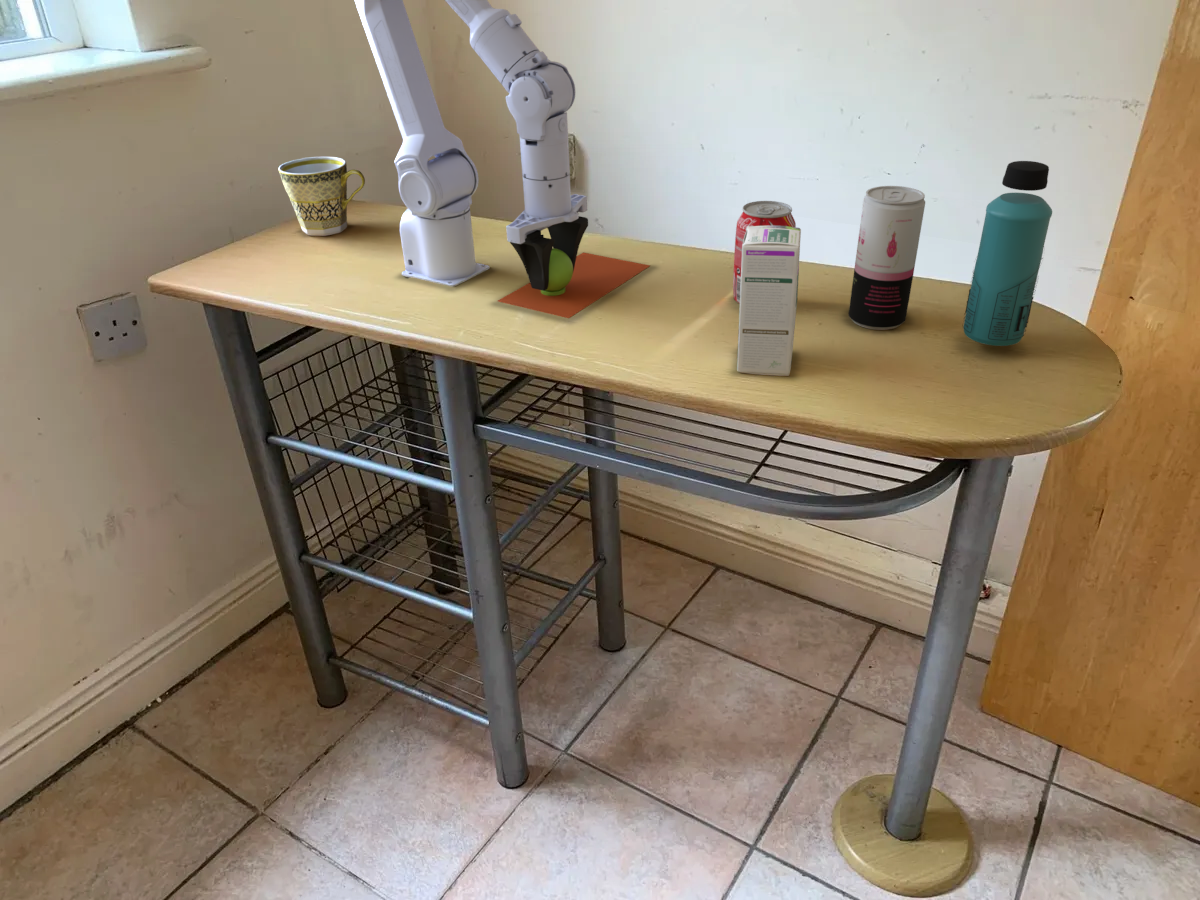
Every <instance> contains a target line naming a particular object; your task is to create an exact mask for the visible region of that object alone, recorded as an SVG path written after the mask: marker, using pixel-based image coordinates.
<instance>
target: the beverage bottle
mask: <svg viewBox="0 0 1200 900" xmlns="http://www.w3.org/2000/svg"><path fill="white" fill-rule="evenodd" d="M1049 172H1050V167H1049V165H1047V164H1045V163H1042V162H1038V161H1032V160H1016V161H1012V162H1011V161H1010V162H1009V163H1008V164H1007V166H1006V169H1005V173H1004V175H1003V178H1002V182H1001V184H1002V185H1003V186H1004V187H1005V188H1009V189H1011V190H1017V191H1028V192H1030V191H1031V192H1033V191H1042V190H1044V189H1046V188H1047V186H1048V183H1049V182H1048V181H1049V180H1048V179H1049ZM1052 216H1053V210H1052V208H1051V206H1050V205H1049V204H1048V202H1047V201H1046V200H1045V199H1044V198H1043V197H1042V196H1040V195H1037V194H1032V193H1026V192H1006V193H1005V192H1004V193H1002V194H1000V195H999V196H996V197H995V198H994V199H993V200H991V201H990V202H989V203H988V204H987V205H986V207H985V216H984V220H983V221H984V222H983V225H982V231H981V237H980V241H979V247H978V251H977V255H976V257H975V260H974V261H975V265H974V268H973V272H972V276H971V277H972V278H971V281H970V288H969V289H968V294H967V300H966V305H965V306H966V307H965V310H964V311H965V312H964V314H965V315H964V317H963V320H962V321H963V322H962V329H963V334H964V335H965V336H966V337H967V338H968V339H969V340H972V341H974V342H977V343H979V344H983V345H987V346H994V347H1006V346H1013V345H1016V344H1018V343H1019V342H1020V341H1021V340H1022V339H1023V337H1024V336H1025V334H1026V332H1027V329H1028V324H1029V320H1030V314H1031V311H1032V305H1033V300H1034V297H1035V296H1034V294H1035V292H1036V289H1037V286H1038V285H1037V284H1038V282H1039V271H1040V268H1041V265H1042V263H1043V262H1042V260H1044V257H1043V254H1044V249H1045V242H1046V239H1047V234H1048V230H1049V225H1050V221H1051V218H1052Z"/></svg>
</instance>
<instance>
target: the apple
mask: <svg viewBox="0 0 1200 900" xmlns="http://www.w3.org/2000/svg"><path fill="white" fill-rule="evenodd" d="M572 275H573V265H572V262H571V260H570V258H569V257H568V255H567V254H566V253H564V252H563V251H561V250H559V249H555V248H553V247H552V251H551V255H550V262H549V284H548V289H547V290H545V291H543V290H541V293H542V294H544V295H547V296H557V295H561V294H563V293H564V292H565V291H566V290H565V286H567V285H568V283H569V282H570V280H571V278H572Z"/></svg>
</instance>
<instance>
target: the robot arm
mask: <svg viewBox="0 0 1200 900" xmlns="http://www.w3.org/2000/svg"><path fill="white" fill-rule="evenodd" d="M353 1H354V3H355V6H356V9H357V12H358V14H359V18H360V20H361V24H362V26H363V29H364V33H365V35H366V37H367V41H368V44H369V46H370V50H371V52H372V54H373V58H374V60H375V64H376V66H377V70H378V72H379V75H380V78H381V80H382V83H383V86H384V89H385V92H386V96H387V98H388V101H389V103H390V106H391V109H392V112H393V115H394V118H395V120H396V123H397V126H398V130H399V132H400V135H401V138H402V142H401V143H402V144H401V146H400V148H399V150H398V152H397V154H396V157H395V159H394V165H395V168H396V172H397V178H398V192H399V196H400V199H401V200H402V202H403V204H404V205H405V207H406V210H405V211H404V212H403V214H402V215H401V219H400V222H399V236H400V242H401V248H402V255H403V262H404V269H405V270H403V271H402V272H401V276H403V277H405V278H414V279H418V280H422V281H426V282H430V283H434V284H439V285H443V286H447V287H452V288H454V287H457V286H459V285H460V284H463V283H464V282H467V281H468V280H470V279H473V278H475V277H476V276H478V275H480V274H482V273H484V272H486V271H487V270H490V268H491V267H490V265H487V264H483V263H478V262H477V261H476V252H475V243H474V234H473V225H472V223H473V222H472V215H471V205H473V199H472V196H473V195H474V194H475V193H476V192H477V189H478V187H479V183H480V180H479V173H478V172H479V171H478V169H477V166H476V165H475V163H474V161H473V160H472V158H471V157H470V156H469V155H468V154H467V152H466V149H465V146H464V144H463V142H462V141H463V140H462V139H461V138H459V136H457V135H456V134H454V133H452V132H451V131H449V130H448V129H447V128H446V127H445V124H444V121H443V118H442V116H441V112H440V109H439V107H438V103H437V101H436V97H435V94H434V90H433V88H432V85H431V82H430V80H429V76H428V72H427V70H426V67H425V64H424V61H423V58H422V55H421V51H420V48H419V45H418V43H417V39H416V37H415V33H414V30H413V28H412V25H411V24H412V23H411V21H410V18H409V15H408V12H407V9H406V6H405V3H404V0H353ZM444 1H445V2H446V4H447V5H448V6H449V7H450V8H451V10H452V11H454V12H455V14H456V15H457V16H458V17H459V18H460V19H461V20H462V21H463V22H464V24H465V25H466V26H467V27H468V28H469V45H470V47H471V49H472V50H473V51H474V52H475V53H476V55H477V56H478V57H479V58H480V59H481V61H482V62H483V63H484V64H485V66H486V67H487V69H488V70H489V71H490V72H491V73H492V75H493V76H494V77H495V78H496V79H497V81H498V82H499V84H500V85H501V86H502V87H503V88H504V89H505V91H506V92H507V93H508V94H507V95H506V96H505V103H506V107H507V109H508V111H509V114H510V115H511V116H512V117H513V119H514V121H515V124H516V133H517V134H518V135H519V146H520V148H519V150H520V161H521V163H520V164H521V175H522V185H523V186H522V188H523V203H524V210H522V212H521V213H520V214H519V215H518V216H517V217H516V218H515V219H514V220H513V221H512V222H510V223H509V224H507V225H506V226H505V229H506V230H505V231H506V241H507V242H508V243H509V244H510V245H511V246H512V248H513V249H514V250H515V252H516V253H517V255H518V256H519V259H520V260H521V262H522V265H523V267H524V270H525V273H526V275H527V278H528V281H529V283H530V284H531V287H532V288H534V289H538V290H543V291H545V290H547V289H548V284H549V262H550V255H551V251H552V248H555V249H559V250H561V251H563V252H564V253H566V254H567V255H568V257H569V258H570V260H571V262H572V265H573V271H574V267H575V262H576V257H577V256H578V253H579V248H580V245H581V242H582V240H583V237H584V234H585V233H586V231H587V228H588V227H589V218H588V217H586V216H580V215H579V214H580V213H585V212H587V211H588V196H587V195H584V194H577V193H573V194H571V193H572V191H571V190H572V189H571V172H570V170H571V167H570V149H569V148H570V145H569V124H568V123H569V122H568V111H569V110H570V109H571V108H572V106H573V105H574V102H575V99H576V84H575V81H574V79H573V77H572V75H571V74H570V71H569V69H568V67H566V66H565V64H562V63H560V62H558V61H555V60H554V61H552V60H550V59H549V58H548V56H547V55H546V53H545V52H544V51H541V50H540V49H539V48H538V47H537V45H536V44H535V43H534V42H533V40H532V39H531V38H530V37H529V35H528V34H527V33H526V32H525V30H524V29H523V28H522V26H521V25H522V23H523V21H522V19H521V18H520V17H519V16H518V15H517V14H516V13H512V14H511V13H510V11H509V10H508V9H505V8H496V7H493V6H492V5H491V4H490V2H489V1H488V0H444ZM432 157H435V158H432ZM430 158H432V159H430ZM545 229H547V231H548V234H549V237H550V238H548V237H545V235H544V234H542V231H544V230H545Z"/></svg>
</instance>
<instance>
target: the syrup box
mask: <svg viewBox="0 0 1200 900" xmlns="http://www.w3.org/2000/svg"><path fill="white" fill-rule="evenodd" d="M801 235H802V229H801V228H800V227H797V226H796V227H789V226H775V225H772V226H769V225H767V226H747V229H746V233H745V236H744V239H743V244H742V264H741V285H740V304H739V310H738V335H737V357H736V359H737V360H736V371H737V372H738V373H743V374H749V375H762V376H763V375H764V376H779V377H781V376H782V377H785V376H786V377H789V376H790V373H791V368H792V363H793V351H794V339H795V329H796V328H795V327H796V317H797V307H798V306H797V305H798V293H799V292H798V291H799V276H800V275H799V274H800V252H801Z"/></svg>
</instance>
